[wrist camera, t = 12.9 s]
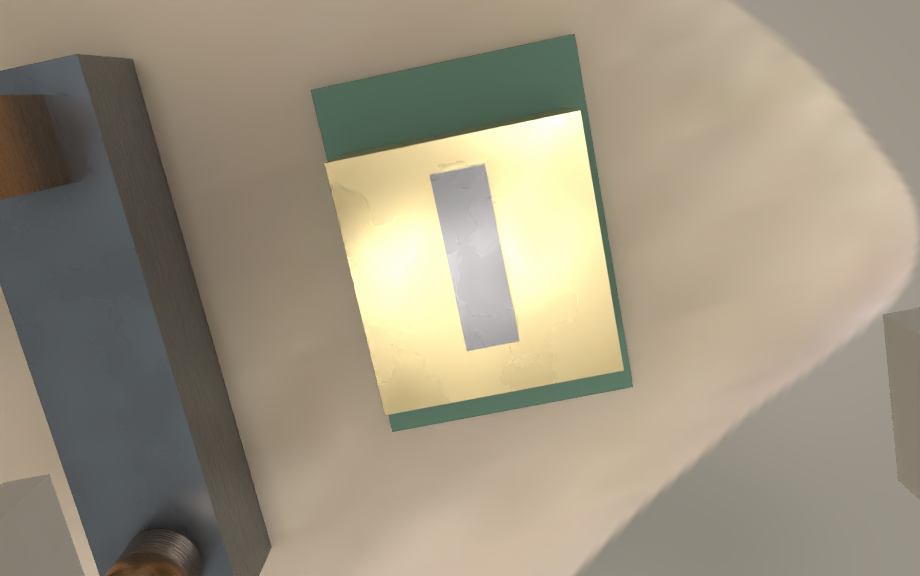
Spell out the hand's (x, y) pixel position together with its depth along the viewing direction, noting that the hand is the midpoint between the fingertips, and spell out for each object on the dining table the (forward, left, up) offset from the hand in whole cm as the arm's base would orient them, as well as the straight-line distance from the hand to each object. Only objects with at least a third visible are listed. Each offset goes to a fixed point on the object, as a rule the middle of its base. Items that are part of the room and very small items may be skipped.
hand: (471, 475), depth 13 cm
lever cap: (0, 0, -20) cm, 20 cm away
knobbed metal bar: (+1, -14, -21) cm, 25 cm away
